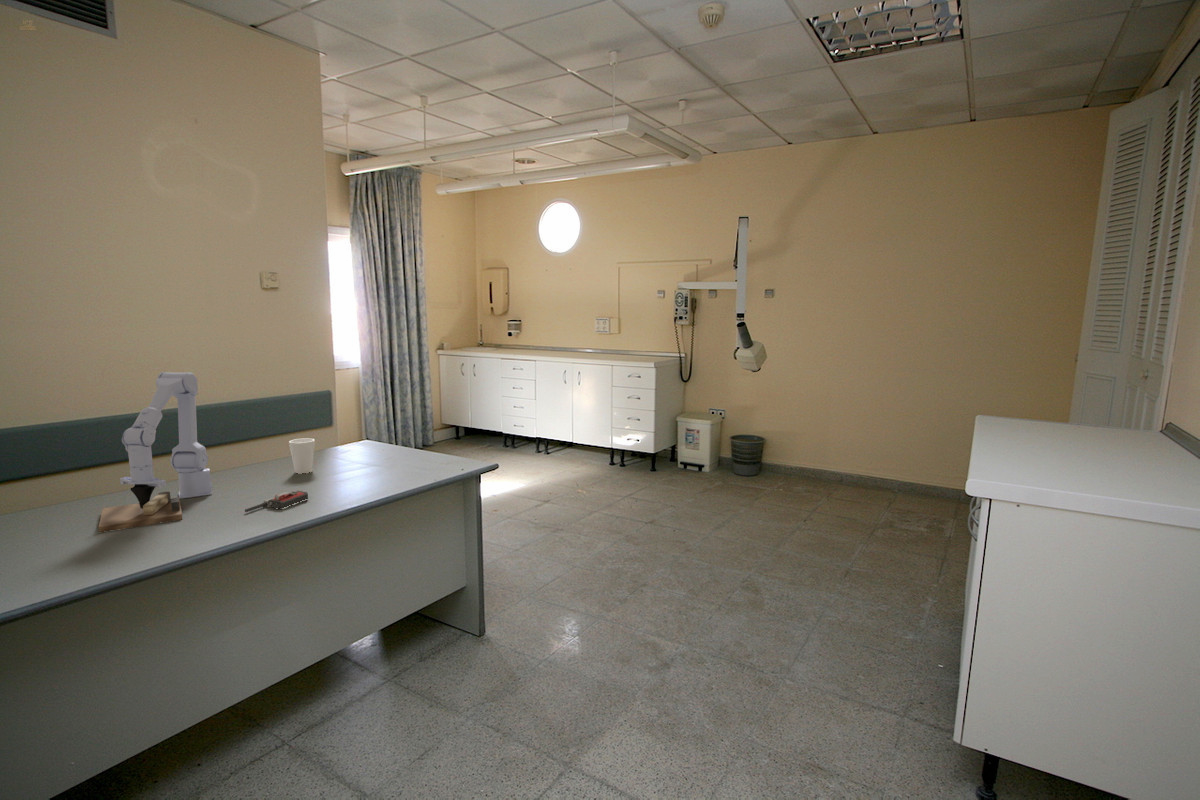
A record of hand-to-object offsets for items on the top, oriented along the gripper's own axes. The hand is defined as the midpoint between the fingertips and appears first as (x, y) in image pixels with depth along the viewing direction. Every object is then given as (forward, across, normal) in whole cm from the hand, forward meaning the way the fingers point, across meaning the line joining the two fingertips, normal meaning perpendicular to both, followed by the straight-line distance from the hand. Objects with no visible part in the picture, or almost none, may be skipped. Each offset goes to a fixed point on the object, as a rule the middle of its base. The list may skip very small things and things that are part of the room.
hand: (145, 507), depth 186 cm
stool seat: (+3, -2, 0) cm, 4 cm away
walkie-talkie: (+4, +32, +19) cm, 37 cm away
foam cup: (+3, +13, +58) cm, 60 cm away
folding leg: (+1, +1, +4) cm, 4 cm away
